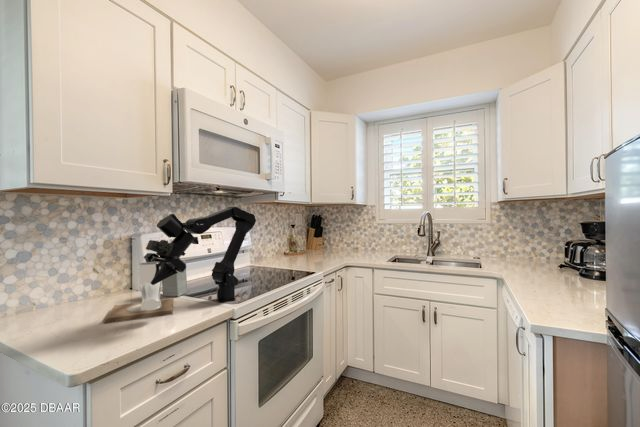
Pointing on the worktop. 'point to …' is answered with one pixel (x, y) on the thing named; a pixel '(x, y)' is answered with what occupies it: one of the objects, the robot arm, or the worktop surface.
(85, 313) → the worktop surface
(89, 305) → the worktop surface
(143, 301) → the beer glass
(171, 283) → the skincare box
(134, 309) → the walnut board
